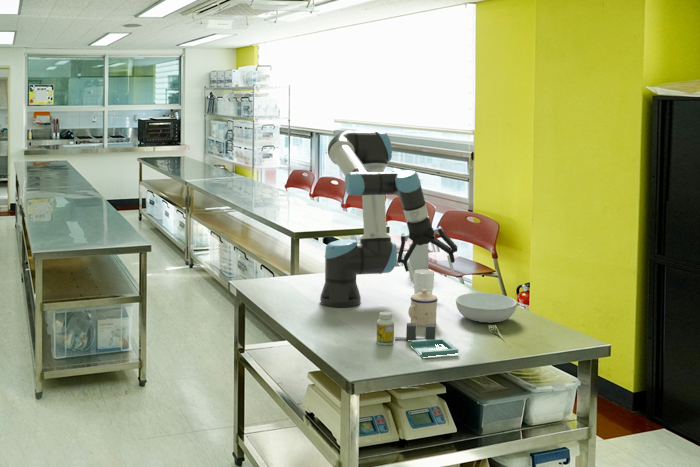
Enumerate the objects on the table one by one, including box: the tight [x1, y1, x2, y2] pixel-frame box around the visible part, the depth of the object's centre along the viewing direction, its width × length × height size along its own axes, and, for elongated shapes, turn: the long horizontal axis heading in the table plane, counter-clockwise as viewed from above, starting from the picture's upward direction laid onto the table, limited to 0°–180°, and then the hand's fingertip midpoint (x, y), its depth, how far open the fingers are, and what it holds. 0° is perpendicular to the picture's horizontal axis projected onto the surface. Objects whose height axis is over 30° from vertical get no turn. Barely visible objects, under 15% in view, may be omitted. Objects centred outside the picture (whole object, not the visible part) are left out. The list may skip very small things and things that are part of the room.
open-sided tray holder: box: [410, 337, 459, 358], centre depth 214 cm, size 11×11×2 cm
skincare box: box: [408, 241, 429, 274], centre depth 311 cm, size 8×6×15 cm
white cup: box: [413, 269, 435, 295], centre depth 277 cm, size 8×8×10 cm
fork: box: [488, 324, 498, 330], centre depth 227 cm, size 3×20×2 cm, turn 9°
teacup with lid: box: [408, 289, 438, 327], centre depth 241 cm, size 12×9×12 cm
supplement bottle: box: [376, 311, 395, 346], centre depth 221 cm, size 5×5×10 cm
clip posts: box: [394, 322, 436, 342], centre depth 224 cm, size 16×3×5 cm, turn 84°
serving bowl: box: [455, 292, 518, 324], centre depth 248 cm, size 21×21×7 cm
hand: (432, 275), depth 238 cm, fingers open, 13 cm apart
